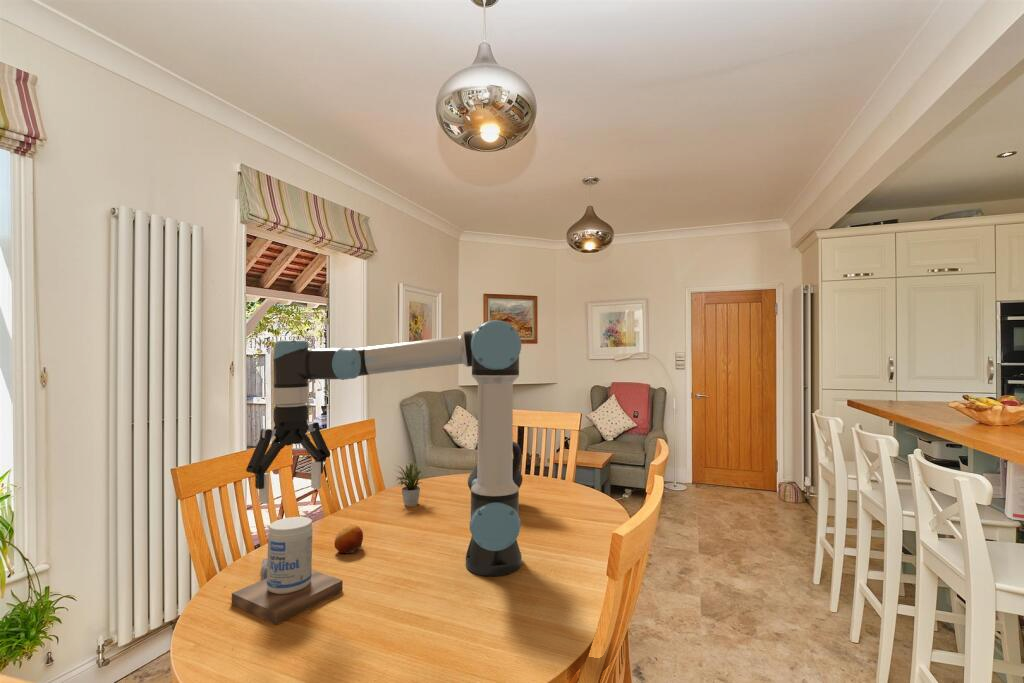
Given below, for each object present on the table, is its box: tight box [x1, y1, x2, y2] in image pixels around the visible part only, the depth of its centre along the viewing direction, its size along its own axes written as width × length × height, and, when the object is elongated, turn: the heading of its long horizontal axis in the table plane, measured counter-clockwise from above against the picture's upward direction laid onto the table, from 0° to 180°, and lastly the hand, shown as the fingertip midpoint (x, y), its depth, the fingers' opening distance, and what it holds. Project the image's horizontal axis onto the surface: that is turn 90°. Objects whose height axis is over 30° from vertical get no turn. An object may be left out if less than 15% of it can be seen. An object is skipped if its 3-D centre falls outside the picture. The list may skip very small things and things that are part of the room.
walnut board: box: [231, 569, 343, 626], centre depth 112 cm, size 17×17×2 cm
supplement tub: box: [267, 516, 313, 594], centre depth 113 cm, size 10×10×15 cm
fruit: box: [334, 525, 364, 554], centre depth 140 cm, size 8×8×8 cm
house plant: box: [395, 461, 427, 507], centre depth 184 cm, size 14×14×16 cm
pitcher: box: [467, 441, 523, 491], centre depth 179 cm, size 21×22×25 cm
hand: (291, 495), depth 113 cm, fingers open, 13 cm apart
